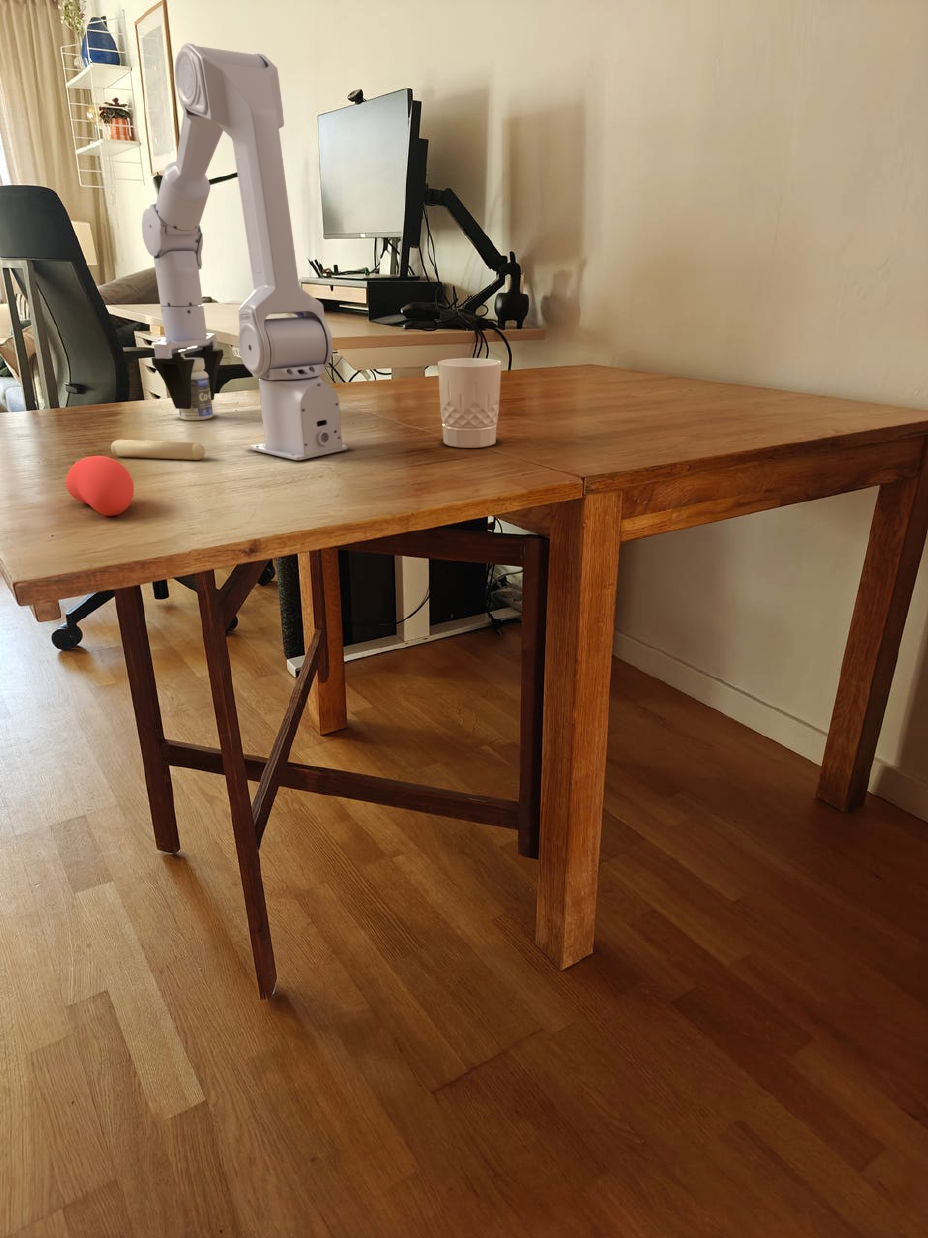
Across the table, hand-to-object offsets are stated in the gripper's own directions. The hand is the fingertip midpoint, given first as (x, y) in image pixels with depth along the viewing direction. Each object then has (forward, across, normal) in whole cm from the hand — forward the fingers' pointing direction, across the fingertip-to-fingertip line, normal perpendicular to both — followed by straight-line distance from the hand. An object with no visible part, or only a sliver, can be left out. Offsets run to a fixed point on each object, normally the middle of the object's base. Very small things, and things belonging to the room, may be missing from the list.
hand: (195, 404), depth 122 cm
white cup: (+2, +10, +43) cm, 44 cm away
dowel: (+2, +25, +8) cm, 26 cm away
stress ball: (+2, +45, +13) cm, 47 cm away
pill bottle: (+2, 0, 0) cm, 2 cm away
